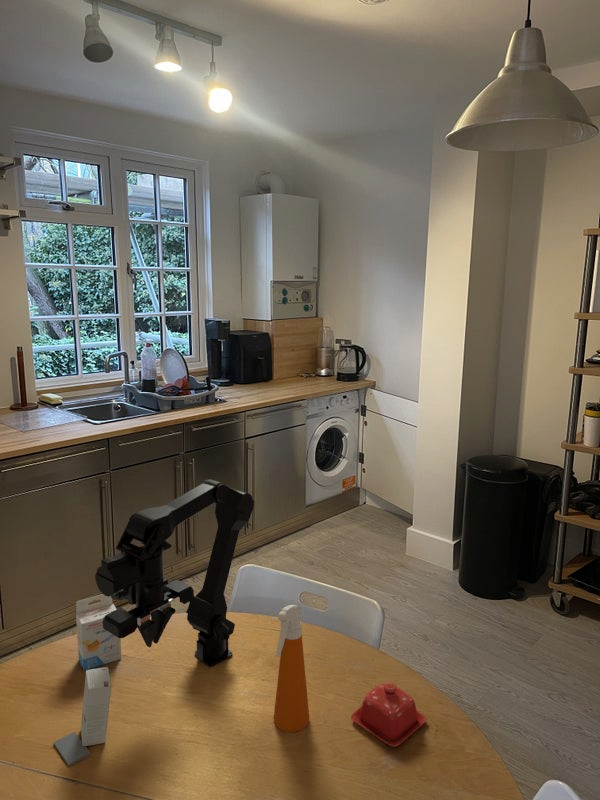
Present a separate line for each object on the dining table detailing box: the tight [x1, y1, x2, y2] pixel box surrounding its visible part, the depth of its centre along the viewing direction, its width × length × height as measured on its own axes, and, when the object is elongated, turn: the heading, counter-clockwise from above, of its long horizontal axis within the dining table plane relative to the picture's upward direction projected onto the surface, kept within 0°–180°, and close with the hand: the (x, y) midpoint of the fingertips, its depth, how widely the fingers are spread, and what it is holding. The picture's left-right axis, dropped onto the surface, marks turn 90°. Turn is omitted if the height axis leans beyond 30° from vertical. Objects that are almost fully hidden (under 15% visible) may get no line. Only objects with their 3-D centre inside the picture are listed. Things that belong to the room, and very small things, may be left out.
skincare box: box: [80, 666, 112, 747], centre depth 113 cm, size 6×4×12 cm
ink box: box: [75, 594, 122, 672], centre depth 135 cm, size 8×5×15 cm, turn 123°
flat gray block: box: [53, 731, 91, 767], centre depth 110 cm, size 4×7×1 cm, turn 43°
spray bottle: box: [273, 604, 310, 733], centre depth 114 cm, size 7×11×26 cm, turn 158°
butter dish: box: [350, 682, 427, 748], centre depth 117 cm, size 12×12×8 cm
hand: (152, 644), depth 122 cm, fingers closed
